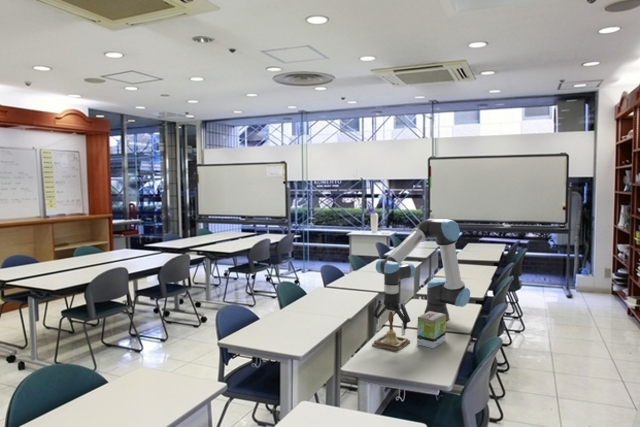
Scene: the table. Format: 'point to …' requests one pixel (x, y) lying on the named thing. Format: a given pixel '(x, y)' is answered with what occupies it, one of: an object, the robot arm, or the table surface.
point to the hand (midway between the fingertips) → (391, 332)
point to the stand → (391, 347)
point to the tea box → (431, 329)
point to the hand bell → (391, 332)
